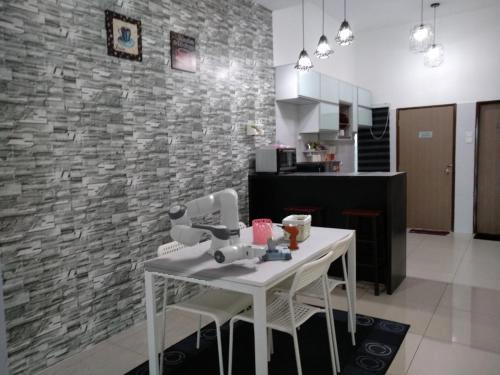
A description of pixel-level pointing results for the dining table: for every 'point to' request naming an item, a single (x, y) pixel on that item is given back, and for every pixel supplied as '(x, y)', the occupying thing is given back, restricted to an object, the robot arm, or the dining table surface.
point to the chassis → (277, 255)
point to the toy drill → (291, 236)
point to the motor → (271, 245)
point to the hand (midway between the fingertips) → (260, 246)
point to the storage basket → (298, 226)
